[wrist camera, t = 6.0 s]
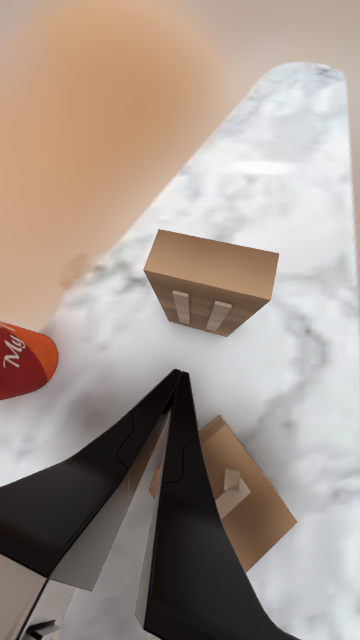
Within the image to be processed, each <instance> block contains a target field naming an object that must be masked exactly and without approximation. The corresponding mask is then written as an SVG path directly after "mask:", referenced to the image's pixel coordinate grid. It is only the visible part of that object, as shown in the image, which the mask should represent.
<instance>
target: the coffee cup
mask: <svg viewBox="0 0 360 640" xmlns="http://www.w3.org/2000/svg"><path fill="white" fill-rule="evenodd" d="M57 363H58V352H57V348H56V346H55V344H54V342H53V341H52V340H51V339H50V338H48V337H47V336H45V335H42V334H40V333H37V332H34V331H30V330H27V329H24V328H21V327H17V326H14V325H11V324H7V323H4V322H1V321H0V400H4V399H8V398H12V397H16V396H20V395H24V394H27V393H30V392H33V391H36V390H38V389H39V388H41V387H42V386H44V385H45V384H46V383H47V382H48V381H49V380H50V378H51V377H52V375H53V374H54V372H55V370H56V367H57Z"/></svg>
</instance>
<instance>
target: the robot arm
mask: <svg viewBox="0 0 360 640" xmlns="http://www.w3.org/2000/svg"><path fill="white" fill-rule="evenodd" d="M171 407H172V408H171ZM170 410H171V412H170ZM169 413H170V418H169V423H168V429H167V435H166V440H165V446H164V452H163V457H162V463H161V468H160V474H159V480H158V485H157V491H156V497H155V502H154V508H153V513H152V519H151V525H150V530H149V536H148V542H147V547H146V553H145V558H144V564H143V570H142V575H141V581H140V587H139V592H138V598H137V603H136V609H135V615H136V617H137V619H138V621H139V622H140V624H141V626H142V628H143V629H144V630H145V631H146V637H145V640H300V639H298V638H296V637H294V636H292V635H290V634H288V633H286V632H284V631H282V630H281V629H280V628H278V627H277V626H276V625H275V624H274V623H273V622H272V620H271V619H270V618H269V616H268V615H267V614H266V612H265V611H264V609H263V607H262V606H261V604H260V602H259V600H258V598H257V596H256V594H255V592H254V590H253V588H252V585H251V583H250V581H249V579H248V577H247V575H246V573H245V571H244V569H243V567H242V565H241V562H240V560H239V558H238V556H237V554H236V552H235V550H234V548H233V546H232V544H231V542H230V539H229V537H228V535H227V533H226V531H225V529H224V526H223V523H222V521H221V518H220V515H219V512H218V508H217V505H216V501H215V498H214V494H213V491H212V487H211V484H210V480H209V476H208V473H207V469H206V465H205V461H204V457H203V452H202V447H201V442H200V436H199V430H198V424H197V418H196V412H195V406H194V400H193V394H192V388H191V382H190V376H189V373H188V372H184V371H182V372H181V370H178V369H174V370H173V371H172V372H171V373H169V374H168V375H167V376H166V377H165V378H164V379H163V380H162V381H161V382H160V383H159V384H158V385H157V386H156V387H155V388H154V389H152V390H151V391H150V392H149V393H148V394H147V395H146V396H145V397H144V398H143V399H142V400H141V401H140V402H139V403H138V404H136V405H135V406H134V407H133V408H132V410H130V411H129V412H128V413H127V414H126V415H125V416H124V417H122V418H121V419H120V420H119V421H118V422H117V423H116V424H114V425H113V426H112V427H111V428H109V429H108V430H107V431H105V432H104V433H103V434H102V435H100V436H99V437H98V438H96V439H95V440H94V441H92V442H91V443H90V444H88V445H87V446H86V447H84V448H83V449H82V450H80V451H79V452H78V453H76V454H75V455H73V456H72V457H70V458H68V459H67V460H65V461H63V462H60V463H58V464H56V465H53V466H51V467H49V468H46V469H44V470H41V471H39V472H37V473H34V474H32V475H29V476H27V477H25V478H22V479H20V480H17V481H15V482H12V483H10V484H7V485H5V486H2V487H0V640H58V639H59V637H60V634H61V632H62V629H63V628H61V627H60V624H61V622H62V620H63V617H64V615H65V612H66V610H67V608H68V605H69V603H70V601H71V598H72V596H73V594H74V591H75V589H76V587H77V588H81V589H84V590H88V591H92V590H93V588H94V585H95V583H96V581H97V578H98V576H99V574H100V571H101V569H102V567H103V565H104V562H105V560H106V558H107V555H108V553H109V551H110V548H111V546H112V544H113V542H114V539H115V537H116V535H117V532H118V530H119V528H120V526H121V523H122V521H123V519H124V516H125V514H126V512H127V509H128V507H129V505H130V502H131V500H132V498H133V496H134V493H135V491H136V489H137V486H138V484H139V482H140V480H141V477H142V475H143V473H144V470H145V468H146V466H147V463H148V461H149V459H150V457H151V454H152V452H153V450H154V447H155V445H156V443H157V440H158V438H159V436H160V434H161V431H162V429H163V427H164V424H165V422H166V420H167V417H168V415H169Z"/></svg>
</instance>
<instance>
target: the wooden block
mask: <svg viewBox="0 0 360 640" xmlns="http://www.w3.org/2000/svg"><path fill="white" fill-rule="evenodd" d="M278 258H279V253H274V252H269V251H264V250H259V249H254V248H249V247H244V246H239V245H234V244H229V243H225V242H220V241H215V240H210V239H205V238H200V237H195V236H190V235H185V234H180V233H175V232H170V231H165V230H160V229H159V230H158V233H157V235H156V238H155V241H154V243H153V246H152V248H151V251H150V254H149V256H148V259H147V262H146V264H145V267H144V272H145V274H146V276H147V278H148V280H149V282H150V284H151V286H152V288H153V290H154V292H155V294H156V296H157V298H158V300H159V302H160V304H161V306H162V308H163V310H164V312H165V314H166V316H167V318H168V320H169V321H171V322H175V323H178V324H182V325H186V326H189V327H193V328H197V329H200V330H204V331H208V332H211V333H215V334H219V335H222V336H226V337H227V336H229V335H230V334H231V333H232V332H233V331H234V330H236V329H237V328H238V327H239V326H240V325H242V324H243V323H244V322H245V321H246V320H248V319H249V318H250V317H251V316H252V315H254V314H255V313H256V312H257V311H258V310H259V309H261V308H262V307H263V306H264V305H265V304H267V303H268V302H269V301H270V300H271V296H272V290H273V285H274V280H275V274H276V269H277V263H278Z"/></svg>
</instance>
